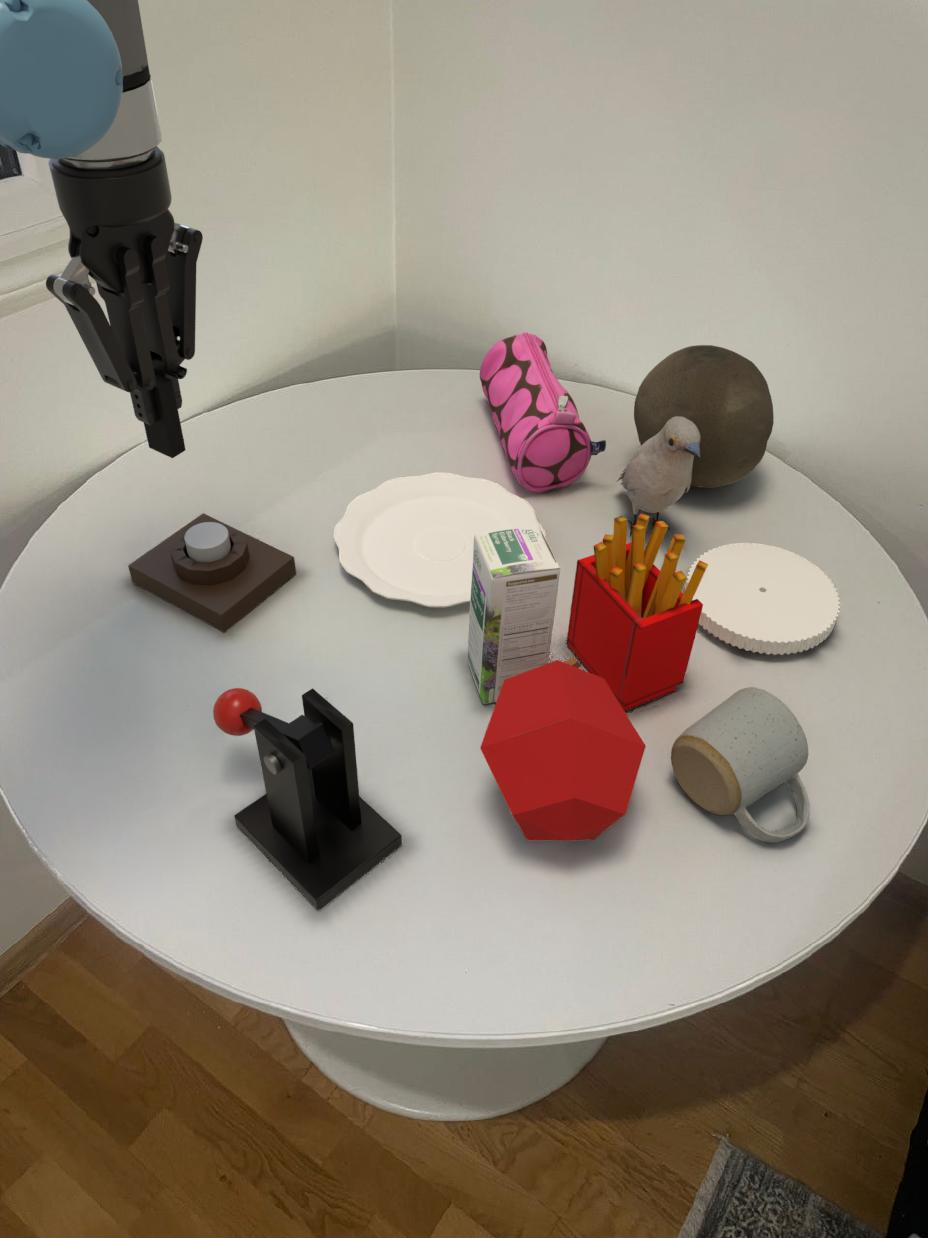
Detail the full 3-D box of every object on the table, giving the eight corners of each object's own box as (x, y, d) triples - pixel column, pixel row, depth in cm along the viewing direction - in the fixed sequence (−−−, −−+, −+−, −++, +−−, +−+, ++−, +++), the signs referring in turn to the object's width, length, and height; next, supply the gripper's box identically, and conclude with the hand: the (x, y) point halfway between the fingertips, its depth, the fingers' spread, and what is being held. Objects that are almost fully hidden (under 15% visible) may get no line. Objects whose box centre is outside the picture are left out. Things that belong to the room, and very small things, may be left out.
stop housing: (132, 583, 95) (123, 550, 92) (206, 529, 101) (200, 498, 99) (224, 632, 90) (218, 600, 88) (296, 574, 97) (292, 542, 94)
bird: (652, 575, 98) (678, 446, 87) (599, 496, 107) (617, 371, 97) (697, 566, 99) (728, 438, 88) (641, 489, 108) (663, 364, 98)
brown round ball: (702, 432, 116) (728, 312, 106) (782, 497, 107) (819, 372, 97) (601, 462, 112) (618, 339, 101) (676, 532, 103) (703, 406, 92)
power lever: (216, 739, 76) (197, 699, 75) (254, 714, 78) (237, 675, 77) (304, 783, 66) (285, 738, 65) (346, 753, 68) (328, 709, 67)
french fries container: (627, 623, 93) (649, 501, 83) (686, 687, 87) (718, 565, 77) (563, 646, 90) (578, 524, 80) (620, 715, 84) (644, 592, 75)
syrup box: (465, 659, 89) (469, 532, 79) (528, 648, 90) (539, 521, 80) (482, 706, 85) (489, 578, 75) (548, 694, 86) (563, 565, 76)
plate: (321, 499, 105) (320, 486, 104) (509, 474, 109) (510, 461, 108) (355, 633, 91) (354, 619, 90) (571, 598, 95) (573, 585, 94)
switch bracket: (235, 825, 75) (209, 714, 67) (319, 767, 80) (304, 655, 71) (318, 911, 70) (301, 803, 62) (402, 844, 74) (398, 734, 66)
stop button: (178, 552, 93) (175, 538, 92) (208, 531, 95) (206, 516, 94) (209, 568, 91) (206, 554, 90) (239, 546, 94) (237, 531, 93)
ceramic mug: (656, 777, 79) (673, 715, 74) (723, 729, 83) (744, 667, 78) (759, 870, 74) (786, 810, 68) (827, 814, 77) (858, 753, 72)
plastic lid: (837, 580, 98) (844, 561, 96) (827, 678, 88) (835, 658, 86) (694, 549, 101) (699, 529, 99) (670, 640, 91) (675, 620, 89)
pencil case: (602, 492, 107) (613, 411, 101) (515, 503, 106) (521, 421, 99) (545, 391, 122) (552, 315, 116) (469, 399, 121) (471, 322, 114)
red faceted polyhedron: (473, 868, 74) (467, 694, 83) (631, 870, 76) (609, 698, 84) (491, 804, 65) (483, 614, 73) (673, 807, 66) (644, 619, 74)
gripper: (138, 114, 72) (191, 401, 88) (-14, 164, 64) (74, 470, 80) (215, 136, 69) (254, 428, 85) (65, 190, 61) (140, 502, 77)
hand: (167, 448), depth 82 cm, fingers closed
